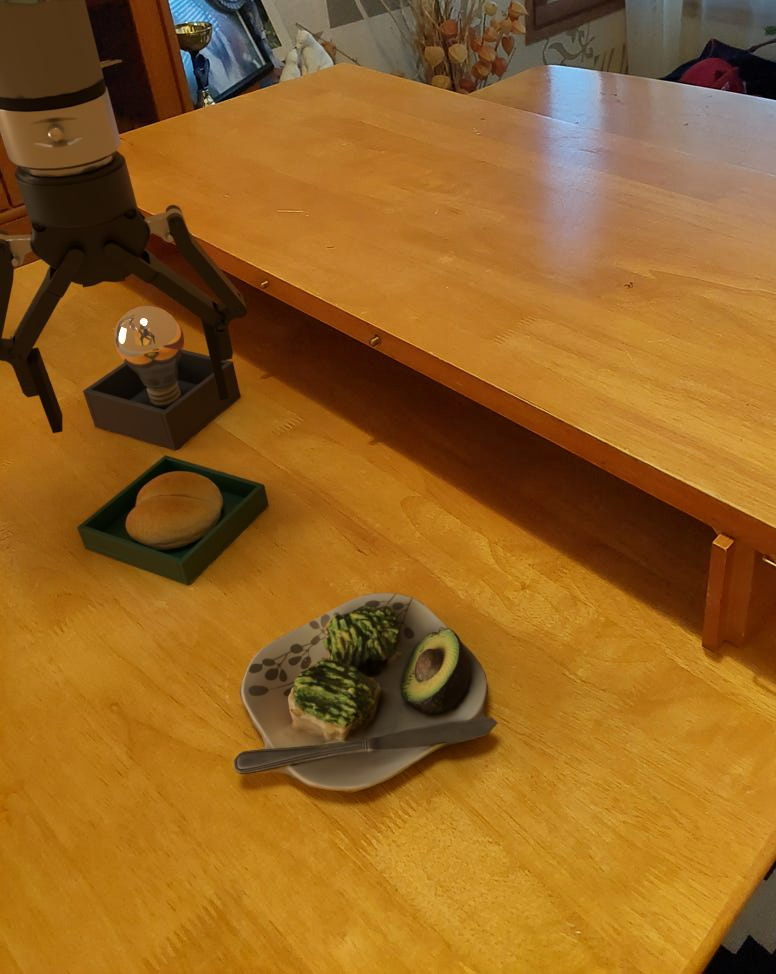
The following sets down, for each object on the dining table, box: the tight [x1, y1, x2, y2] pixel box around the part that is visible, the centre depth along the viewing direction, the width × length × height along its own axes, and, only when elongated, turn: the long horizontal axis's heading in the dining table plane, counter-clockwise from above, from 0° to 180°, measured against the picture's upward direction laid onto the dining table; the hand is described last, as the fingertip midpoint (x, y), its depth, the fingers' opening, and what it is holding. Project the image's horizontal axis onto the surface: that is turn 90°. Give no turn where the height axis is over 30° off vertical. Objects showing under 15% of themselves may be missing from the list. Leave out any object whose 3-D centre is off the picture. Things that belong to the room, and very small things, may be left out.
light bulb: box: [113, 304, 185, 409], centre depth 99 cm, size 7×7×12 cm
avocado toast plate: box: [233, 592, 499, 794], centre depth 68 cm, size 19×18×5 cm
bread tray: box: [76, 454, 270, 586], centre depth 86 cm, size 12×12×3 cm
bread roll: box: [126, 471, 223, 550], centre depth 85 cm, size 8×9×4 cm
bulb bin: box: [82, 349, 241, 451], centre depth 101 cm, size 11×11×5 cm
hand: (142, 407), depth 79 cm, fingers open, 13 cm apart
